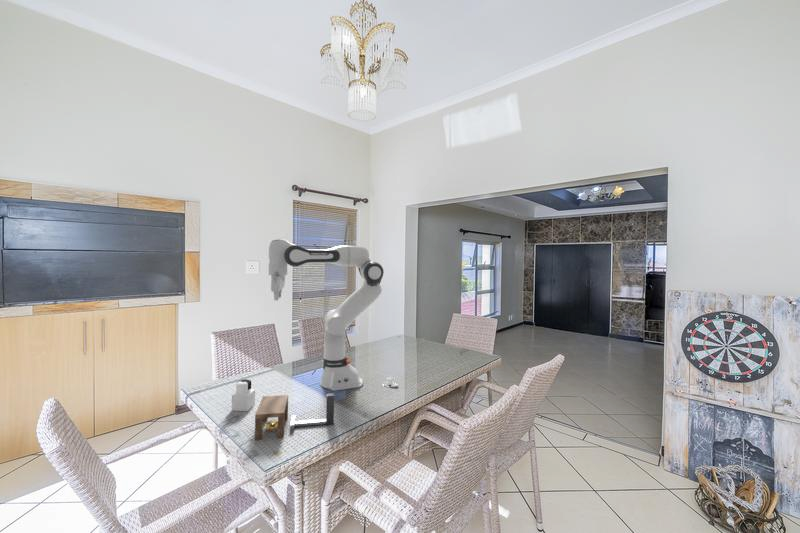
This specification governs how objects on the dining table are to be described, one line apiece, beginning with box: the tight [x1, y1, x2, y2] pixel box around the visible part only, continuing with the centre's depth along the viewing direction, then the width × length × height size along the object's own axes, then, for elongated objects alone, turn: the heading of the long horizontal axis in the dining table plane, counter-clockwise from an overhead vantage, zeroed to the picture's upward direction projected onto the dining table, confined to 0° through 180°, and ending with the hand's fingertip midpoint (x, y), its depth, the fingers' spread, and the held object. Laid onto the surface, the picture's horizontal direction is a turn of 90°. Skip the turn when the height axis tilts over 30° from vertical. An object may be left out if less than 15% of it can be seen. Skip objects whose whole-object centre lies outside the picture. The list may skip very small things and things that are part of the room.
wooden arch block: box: [254, 394, 289, 441], centre depth 132 cm, size 10×16×10 cm, turn 13°
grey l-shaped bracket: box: [289, 392, 335, 432], centre depth 135 cm, size 17×8×12 cm, turn 103°
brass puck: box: [265, 419, 278, 432], centre depth 132 cm, size 5×5×2 cm
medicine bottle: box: [231, 378, 256, 412], centre depth 148 cm, size 7×7×12 cm
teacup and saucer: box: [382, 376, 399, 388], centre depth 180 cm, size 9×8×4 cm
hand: (277, 298), depth 168 cm, fingers open, 8 cm apart
